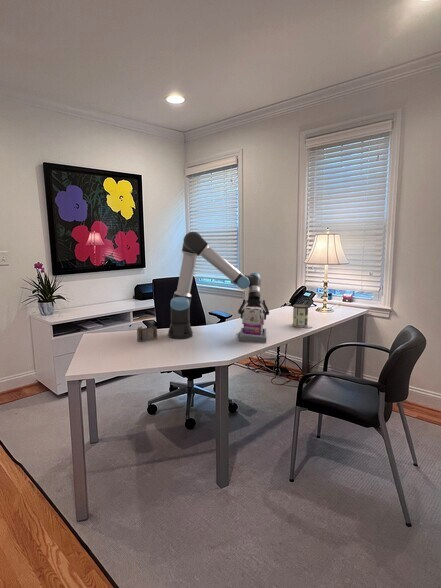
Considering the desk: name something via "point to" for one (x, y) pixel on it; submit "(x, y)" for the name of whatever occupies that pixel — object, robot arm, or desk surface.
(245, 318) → the candy bar box
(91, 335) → the desk surface
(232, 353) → the desk surface
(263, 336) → the tray
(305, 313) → the coffee can
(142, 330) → the ruin model on sheet
